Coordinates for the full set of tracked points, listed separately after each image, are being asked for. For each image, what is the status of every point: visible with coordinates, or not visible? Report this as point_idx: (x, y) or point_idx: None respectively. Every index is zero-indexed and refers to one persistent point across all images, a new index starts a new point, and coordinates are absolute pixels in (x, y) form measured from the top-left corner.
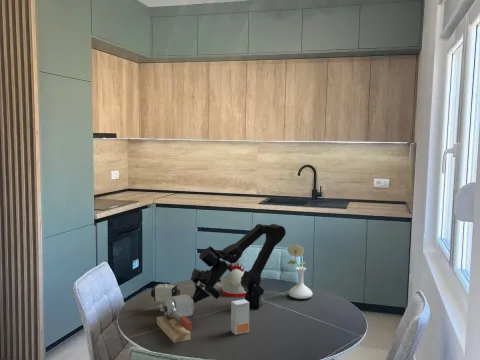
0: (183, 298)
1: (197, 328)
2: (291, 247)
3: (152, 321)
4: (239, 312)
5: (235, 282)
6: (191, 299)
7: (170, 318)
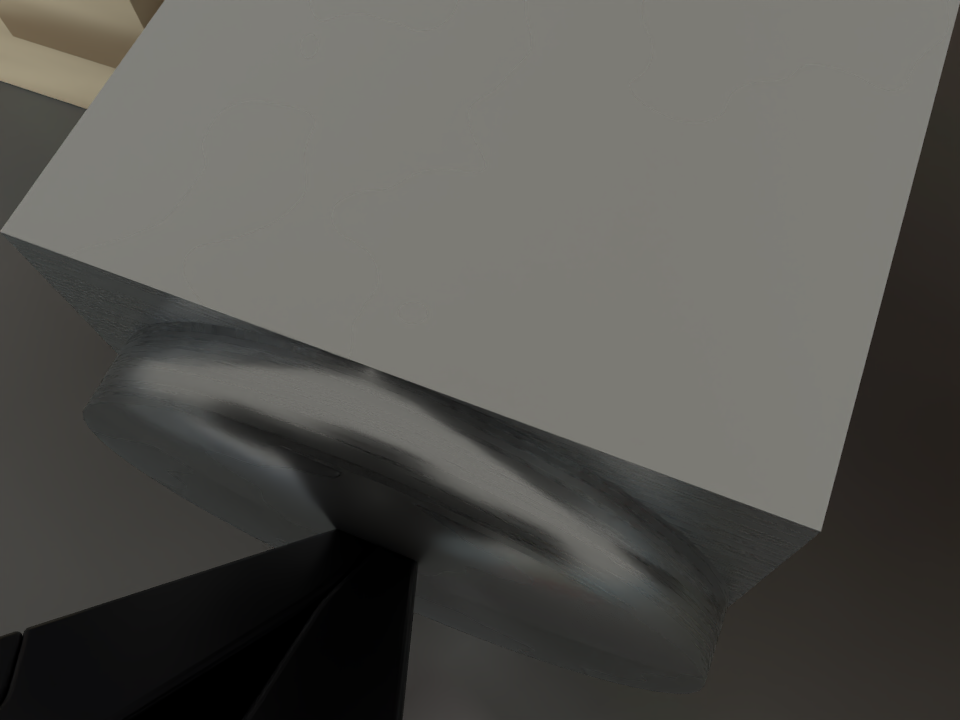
0: (408, 35)
1: (14, 382)
2: None
3: (952, 84)
4: None
5: None
6: (41, 201)
7: None
